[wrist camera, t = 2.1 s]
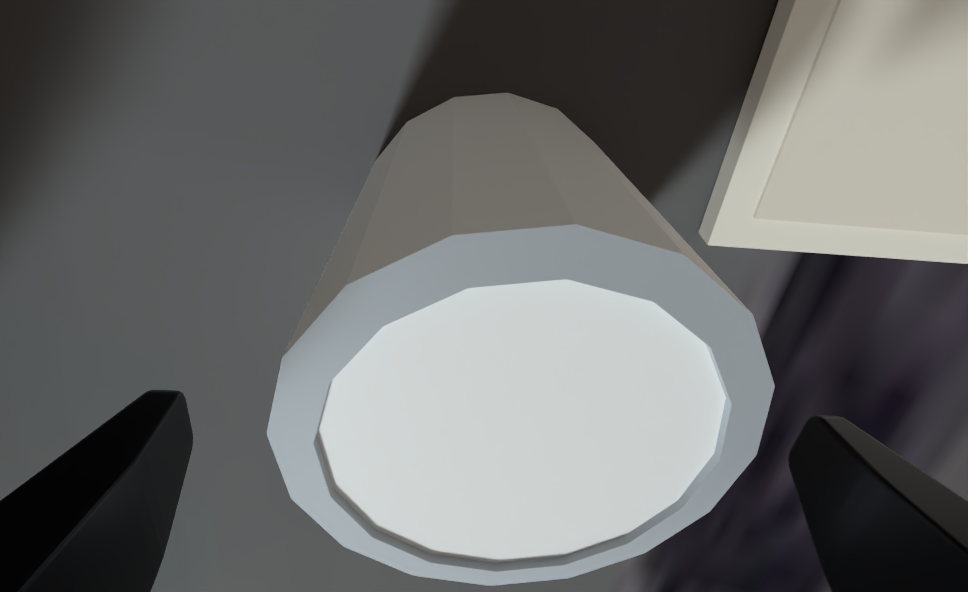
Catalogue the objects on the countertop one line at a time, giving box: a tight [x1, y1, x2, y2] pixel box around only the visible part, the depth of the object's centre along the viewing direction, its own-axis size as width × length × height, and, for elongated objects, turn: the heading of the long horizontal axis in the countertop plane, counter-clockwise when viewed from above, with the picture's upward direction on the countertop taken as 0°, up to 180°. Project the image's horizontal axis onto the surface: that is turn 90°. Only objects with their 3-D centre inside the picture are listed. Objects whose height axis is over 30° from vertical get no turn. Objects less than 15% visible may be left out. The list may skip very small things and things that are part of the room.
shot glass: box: [267, 93, 775, 586], centre depth 11 cm, size 7×7×7 cm
